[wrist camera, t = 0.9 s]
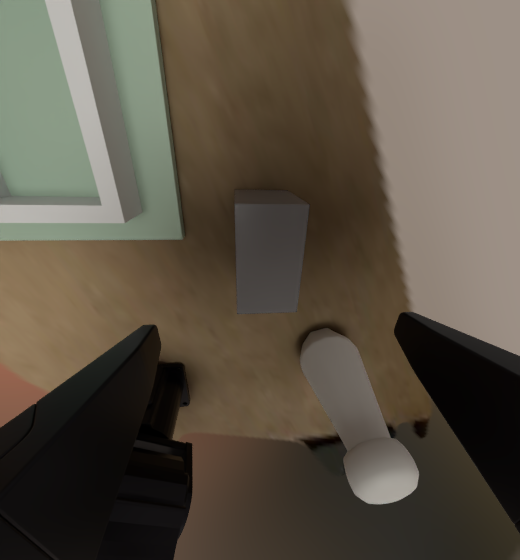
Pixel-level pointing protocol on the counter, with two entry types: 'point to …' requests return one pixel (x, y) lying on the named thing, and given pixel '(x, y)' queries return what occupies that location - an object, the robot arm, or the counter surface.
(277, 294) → the chute block
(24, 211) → the deck plate
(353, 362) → the salt shaker
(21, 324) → the counter surface
